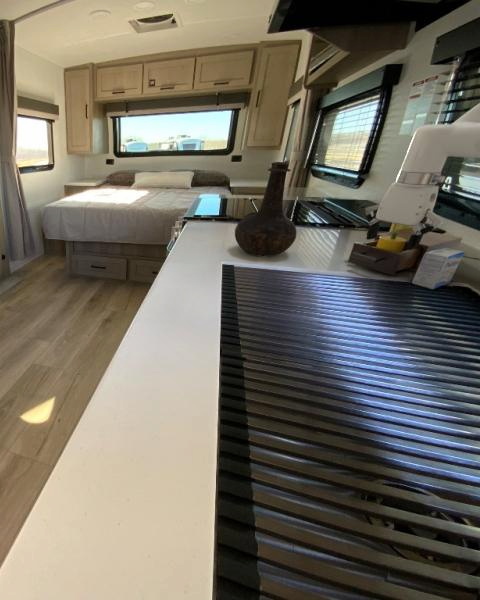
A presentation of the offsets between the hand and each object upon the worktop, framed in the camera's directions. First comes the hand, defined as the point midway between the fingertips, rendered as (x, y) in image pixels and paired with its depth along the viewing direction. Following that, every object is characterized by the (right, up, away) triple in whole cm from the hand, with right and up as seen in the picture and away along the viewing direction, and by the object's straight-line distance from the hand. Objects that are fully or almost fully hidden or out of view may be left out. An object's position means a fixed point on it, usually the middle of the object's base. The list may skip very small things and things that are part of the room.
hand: (389, 243), depth 92 cm
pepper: (0, -5, +2) cm, 5 cm away
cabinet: (+12, -4, +7) cm, 14 cm away
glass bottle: (-26, 0, +18) cm, 32 cm away
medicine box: (+4, -12, -7) cm, 14 cm away
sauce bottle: (+20, +3, +19) cm, 28 cm away
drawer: (0, -6, +2) cm, 6 cm away
